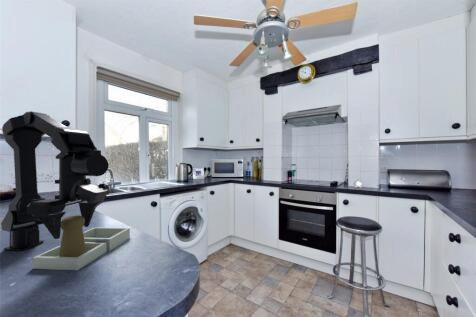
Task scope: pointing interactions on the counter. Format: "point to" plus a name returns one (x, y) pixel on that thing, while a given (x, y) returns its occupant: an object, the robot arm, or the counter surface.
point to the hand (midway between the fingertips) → (72, 232)
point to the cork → (72, 237)
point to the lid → (69, 258)
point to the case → (107, 236)
